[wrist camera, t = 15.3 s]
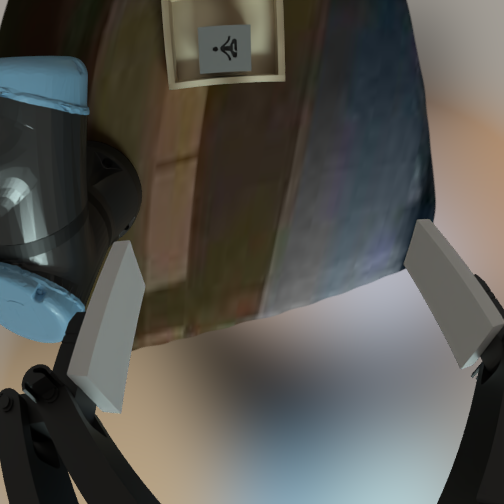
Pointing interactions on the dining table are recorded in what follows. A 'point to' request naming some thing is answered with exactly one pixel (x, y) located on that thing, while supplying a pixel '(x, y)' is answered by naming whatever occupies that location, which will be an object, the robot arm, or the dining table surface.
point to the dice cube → (224, 48)
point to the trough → (216, 14)
